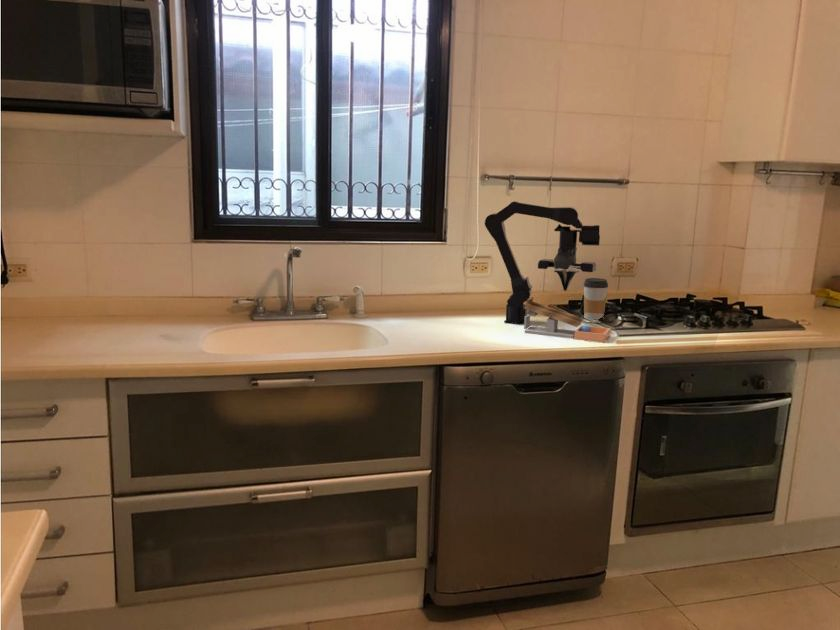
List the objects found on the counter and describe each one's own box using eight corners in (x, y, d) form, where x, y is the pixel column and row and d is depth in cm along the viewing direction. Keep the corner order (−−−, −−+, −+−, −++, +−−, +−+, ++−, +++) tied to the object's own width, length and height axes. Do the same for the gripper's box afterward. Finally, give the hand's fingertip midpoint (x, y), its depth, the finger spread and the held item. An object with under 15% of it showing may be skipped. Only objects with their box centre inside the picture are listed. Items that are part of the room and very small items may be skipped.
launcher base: (522, 332, 215) (522, 317, 214) (529, 327, 222) (530, 313, 221) (573, 338, 207) (573, 323, 206) (579, 333, 214) (580, 318, 213)
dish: (574, 339, 207) (574, 331, 206) (581, 333, 215) (582, 325, 214) (604, 342, 202) (604, 334, 202) (610, 336, 210) (610, 328, 210)
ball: (579, 335, 209) (579, 326, 208) (581, 333, 212) (581, 324, 211) (589, 336, 207) (589, 327, 207) (591, 334, 210) (591, 325, 209)
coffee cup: (606, 324, 227) (609, 282, 224) (581, 323, 229) (584, 281, 225) (604, 319, 235) (607, 278, 232) (581, 318, 237) (583, 277, 233)
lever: (523, 313, 215) (527, 299, 214) (532, 307, 224) (536, 294, 222) (575, 331, 208) (579, 317, 207) (583, 325, 217) (587, 312, 215)
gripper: (533, 245, 218) (531, 291, 221) (589, 248, 210) (587, 296, 213) (543, 242, 228) (541, 287, 231) (597, 245, 219) (595, 291, 223)
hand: (565, 290), depth 224 cm, fingers closed
